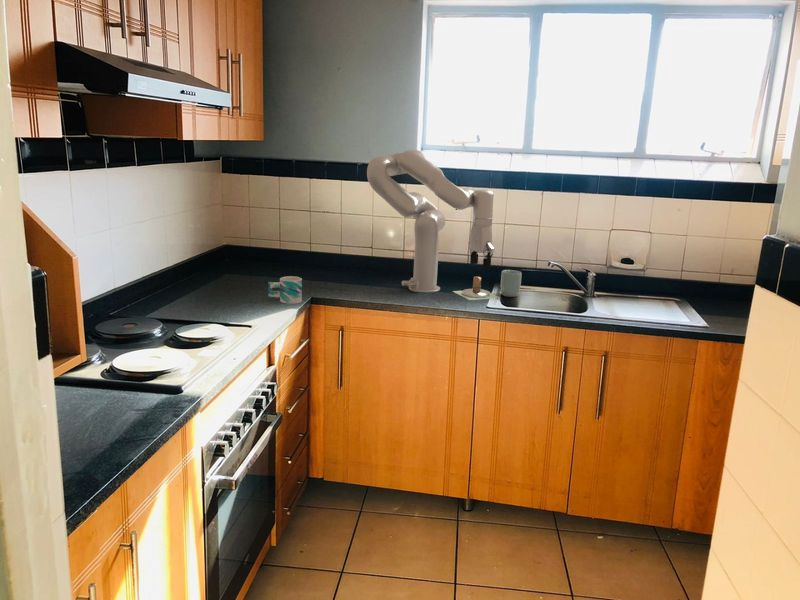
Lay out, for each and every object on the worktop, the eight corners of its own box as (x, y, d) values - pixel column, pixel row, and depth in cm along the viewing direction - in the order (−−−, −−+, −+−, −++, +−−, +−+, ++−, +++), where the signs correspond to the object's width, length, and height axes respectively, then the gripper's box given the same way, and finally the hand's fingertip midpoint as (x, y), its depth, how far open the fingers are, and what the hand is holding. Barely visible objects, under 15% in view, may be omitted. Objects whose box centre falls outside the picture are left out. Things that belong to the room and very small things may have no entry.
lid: (471, 298, 254) (472, 281, 252) (457, 292, 264) (458, 274, 262) (495, 296, 258) (496, 279, 257) (481, 290, 268) (482, 273, 266)
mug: (301, 303, 238) (301, 281, 236) (267, 303, 237) (267, 280, 235) (301, 297, 246) (302, 276, 244) (269, 297, 245) (268, 275, 242)
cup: (520, 299, 259) (523, 274, 256) (501, 298, 259) (503, 273, 257) (517, 294, 267) (520, 270, 264) (498, 293, 267) (500, 269, 264)
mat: (469, 301, 252) (469, 299, 252) (452, 292, 265) (452, 291, 264) (500, 299, 258) (500, 297, 258) (482, 290, 270) (482, 289, 270)
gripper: (462, 220, 260) (461, 262, 264) (485, 225, 245) (483, 271, 249) (479, 219, 263) (477, 261, 267) (502, 225, 248) (500, 269, 252)
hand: (480, 266), depth 258 cm, fingers open, 9 cm apart
